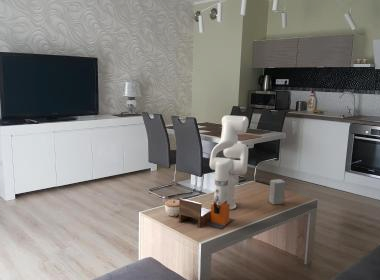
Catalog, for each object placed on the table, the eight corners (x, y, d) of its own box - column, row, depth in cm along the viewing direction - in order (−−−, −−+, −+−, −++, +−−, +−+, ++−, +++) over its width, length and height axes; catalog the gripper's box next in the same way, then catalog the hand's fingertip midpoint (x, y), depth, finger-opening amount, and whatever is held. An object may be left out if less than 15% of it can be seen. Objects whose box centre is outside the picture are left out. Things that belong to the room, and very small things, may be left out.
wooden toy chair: (191, 214, 222) (191, 192, 220) (211, 219, 215) (212, 197, 212) (178, 221, 210) (179, 198, 208) (199, 227, 203) (200, 203, 201)
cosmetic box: (278, 200, 251) (280, 178, 248) (284, 204, 244) (286, 181, 241) (268, 201, 248) (269, 179, 245) (273, 205, 241) (275, 182, 238)
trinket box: (178, 210, 228) (179, 196, 226) (184, 216, 218) (185, 201, 217) (162, 212, 224) (162, 197, 223) (167, 218, 214) (168, 203, 213)
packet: (215, 218, 216) (215, 200, 214) (229, 221, 211) (229, 204, 209) (210, 221, 211) (211, 203, 209) (224, 225, 206) (225, 207, 204)
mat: (218, 216, 220) (218, 215, 220) (233, 219, 215) (233, 219, 215) (205, 225, 207) (205, 224, 207) (221, 229, 202) (221, 228, 202)
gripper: (220, 187, 198) (219, 217, 201) (233, 180, 212) (232, 207, 215) (208, 185, 201) (207, 214, 204) (222, 177, 216) (221, 205, 219)
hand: (220, 210), depth 210 cm, fingers open, 9 cm apart
